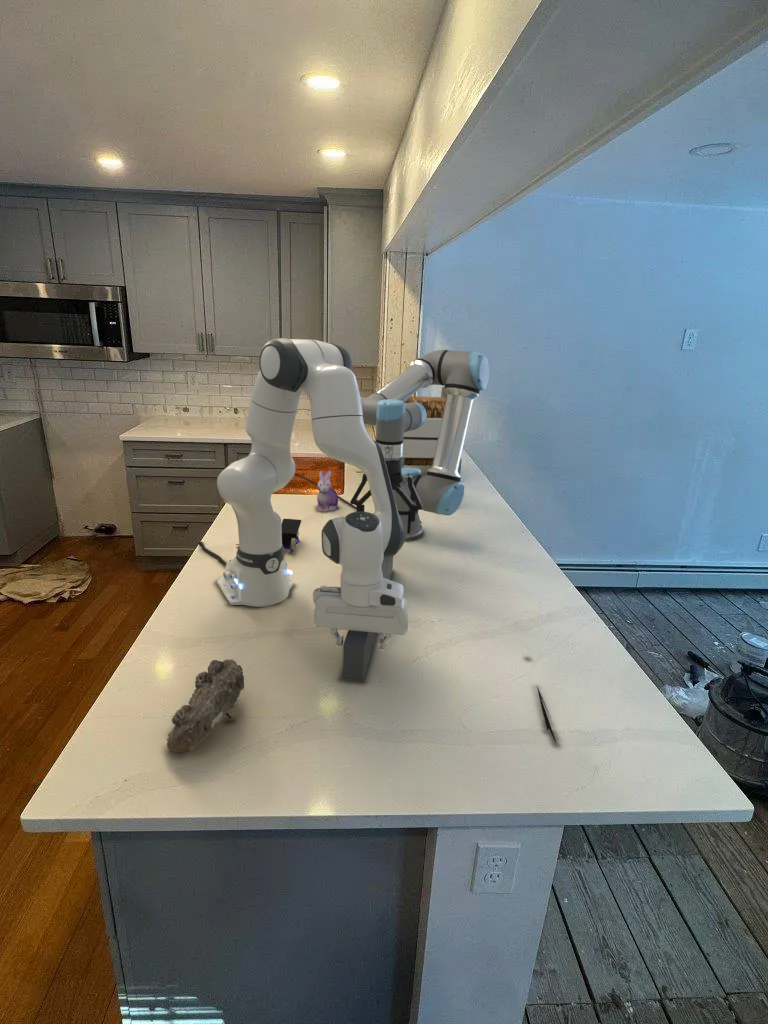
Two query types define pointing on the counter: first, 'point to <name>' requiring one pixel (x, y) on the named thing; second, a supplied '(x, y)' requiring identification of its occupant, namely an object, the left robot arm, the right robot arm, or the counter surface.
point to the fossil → (206, 705)
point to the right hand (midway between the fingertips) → (385, 529)
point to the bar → (361, 641)
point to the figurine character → (290, 533)
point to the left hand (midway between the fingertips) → (360, 646)
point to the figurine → (326, 493)
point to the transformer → (425, 433)
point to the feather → (545, 714)
